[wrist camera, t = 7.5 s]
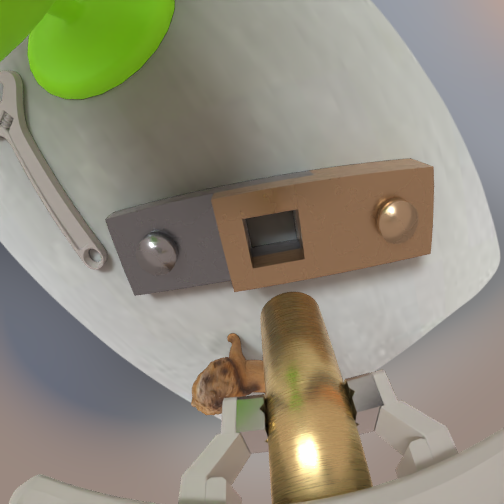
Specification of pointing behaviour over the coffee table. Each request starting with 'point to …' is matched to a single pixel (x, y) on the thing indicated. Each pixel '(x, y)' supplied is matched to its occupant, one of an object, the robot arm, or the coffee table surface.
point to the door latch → (288, 252)
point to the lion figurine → (227, 379)
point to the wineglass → (84, 40)
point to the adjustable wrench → (43, 172)
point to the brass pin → (307, 406)
